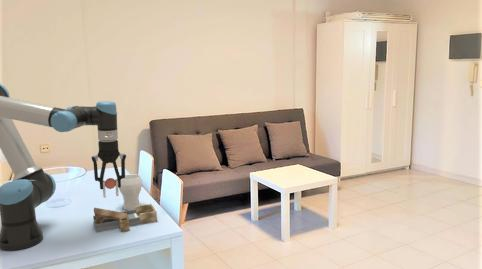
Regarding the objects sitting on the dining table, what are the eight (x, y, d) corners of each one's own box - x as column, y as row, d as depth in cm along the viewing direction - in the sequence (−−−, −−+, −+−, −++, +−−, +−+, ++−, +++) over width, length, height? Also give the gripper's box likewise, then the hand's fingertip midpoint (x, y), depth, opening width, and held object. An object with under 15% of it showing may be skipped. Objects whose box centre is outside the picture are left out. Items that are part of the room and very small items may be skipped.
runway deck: (95, 232, 163) (95, 224, 162) (93, 222, 173) (93, 215, 172) (140, 224, 170) (140, 217, 170) (136, 215, 180) (135, 209, 179)
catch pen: (140, 224, 170) (140, 214, 169) (136, 215, 180) (135, 206, 179) (157, 221, 173) (156, 211, 172) (151, 213, 183) (151, 203, 182)
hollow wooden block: (121, 232, 162) (120, 221, 162) (119, 229, 165) (119, 218, 165) (129, 230, 164) (128, 220, 163) (128, 227, 167) (127, 217, 166)
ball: (105, 190, 161) (105, 180, 160) (104, 187, 165) (104, 177, 164) (116, 189, 163) (116, 179, 162) (115, 186, 167) (115, 176, 166)
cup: (137, 212, 185) (135, 180, 182) (116, 210, 187) (113, 179, 184) (146, 204, 195) (145, 174, 192) (126, 202, 197) (124, 173, 194)
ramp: (96, 227, 164) (94, 213, 163) (94, 220, 171) (93, 207, 170) (129, 221, 169) (128, 208, 168) (126, 215, 177) (125, 202, 176)
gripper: (85, 143, 154) (88, 201, 158) (131, 140, 160) (133, 196, 164) (84, 139, 160) (87, 195, 164) (129, 137, 167) (131, 190, 171)
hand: (110, 195), depth 164 cm, fingers closed on ball, 4 cm apart
